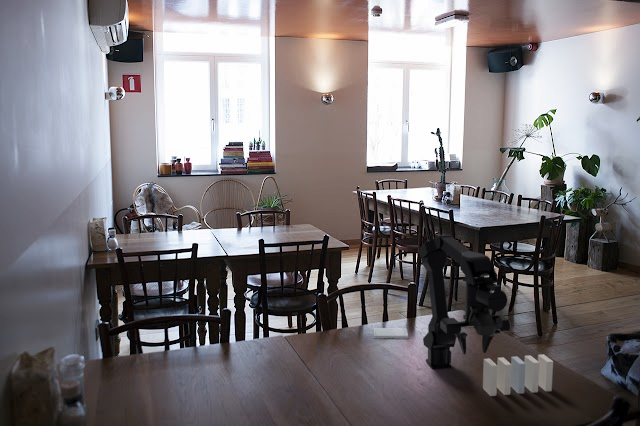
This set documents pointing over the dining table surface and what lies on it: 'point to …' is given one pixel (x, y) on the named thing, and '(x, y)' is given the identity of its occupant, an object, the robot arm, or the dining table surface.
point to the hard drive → (390, 333)
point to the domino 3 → (518, 374)
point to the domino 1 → (490, 377)
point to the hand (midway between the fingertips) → (474, 353)
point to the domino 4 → (531, 373)
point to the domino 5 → (545, 372)
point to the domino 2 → (504, 375)
